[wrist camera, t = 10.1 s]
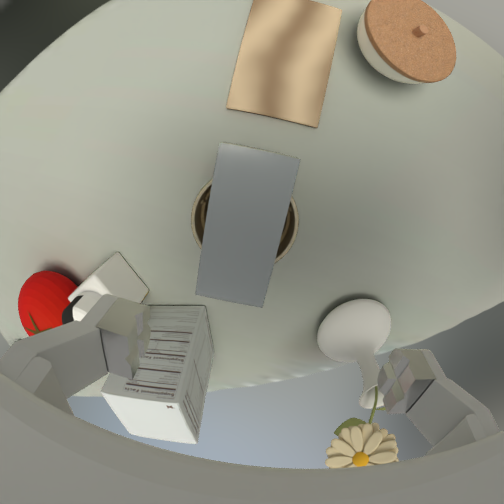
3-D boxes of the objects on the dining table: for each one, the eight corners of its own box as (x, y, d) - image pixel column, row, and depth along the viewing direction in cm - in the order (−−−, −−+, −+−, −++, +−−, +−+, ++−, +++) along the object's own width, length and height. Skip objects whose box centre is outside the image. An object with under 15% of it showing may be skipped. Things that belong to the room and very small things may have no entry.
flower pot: (305, 189, 31) (320, 208, 24) (260, 252, 35) (260, 289, 27) (235, 144, 30) (226, 147, 22) (194, 212, 33) (173, 238, 25)
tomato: (33, 288, 39) (0, 319, 29) (55, 244, 35) (13, 275, 26) (87, 342, 43) (61, 380, 33) (118, 308, 39) (88, 352, 30)
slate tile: (296, 157, 22) (300, 159, 20) (262, 293, 27) (262, 307, 25) (223, 141, 22) (219, 142, 19) (200, 280, 27) (195, 294, 24)
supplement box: (145, 303, 38) (96, 389, 23) (206, 303, 38) (177, 401, 22) (160, 351, 42) (128, 435, 27) (215, 353, 42) (198, 446, 26)
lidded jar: (326, 35, 24) (349, 3, 15) (384, 4, 21) (416, -25, 12) (384, 105, 27) (425, 98, 18) (436, 68, 24) (480, 58, 15)
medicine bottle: (120, 309, 39) (85, 361, 28) (90, 274, 37) (46, 319, 26) (150, 289, 37) (116, 345, 26) (118, 250, 35) (71, 296, 24)
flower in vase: (375, 278, 36) (464, 431, 13) (394, 332, 39) (455, 463, 16) (292, 320, 39) (311, 493, 16) (321, 366, 42) (346, 508, 19)
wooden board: (340, 12, 22) (342, 9, 21) (315, 128, 28) (317, 127, 28) (256, -7, 22) (256, -10, 21) (227, 108, 28) (226, 107, 27)
